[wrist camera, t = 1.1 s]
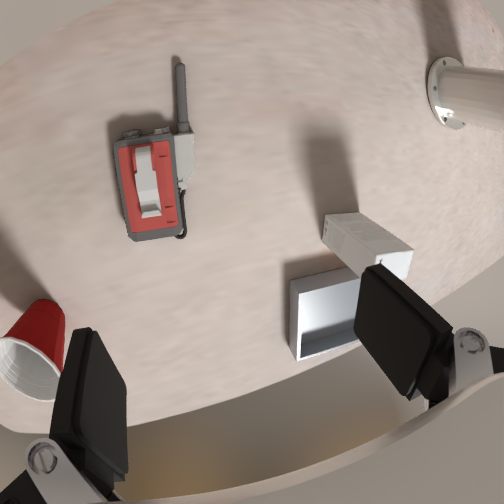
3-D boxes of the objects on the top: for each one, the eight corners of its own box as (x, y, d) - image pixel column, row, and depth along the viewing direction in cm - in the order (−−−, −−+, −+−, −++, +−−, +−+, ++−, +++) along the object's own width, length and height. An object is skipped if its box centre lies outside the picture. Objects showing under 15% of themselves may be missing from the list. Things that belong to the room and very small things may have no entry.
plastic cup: (18, 271, 31) (-17, 328, 21) (85, 298, 36) (68, 362, 26) (15, 327, 34) (-9, 384, 24) (74, 350, 39) (62, 412, 29)
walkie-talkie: (201, 230, 37) (189, 64, 27) (206, 246, 33) (192, 57, 24) (131, 241, 35) (110, 75, 25) (128, 258, 31) (102, 70, 22)
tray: (379, 258, 46) (392, 269, 43) (367, 322, 53) (377, 334, 50) (289, 280, 43) (298, 293, 40) (289, 347, 50) (296, 361, 47)
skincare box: (321, 242, 42) (368, 288, 31) (324, 213, 40) (375, 254, 29) (356, 238, 43) (406, 279, 33) (360, 211, 41) (415, 248, 31)
